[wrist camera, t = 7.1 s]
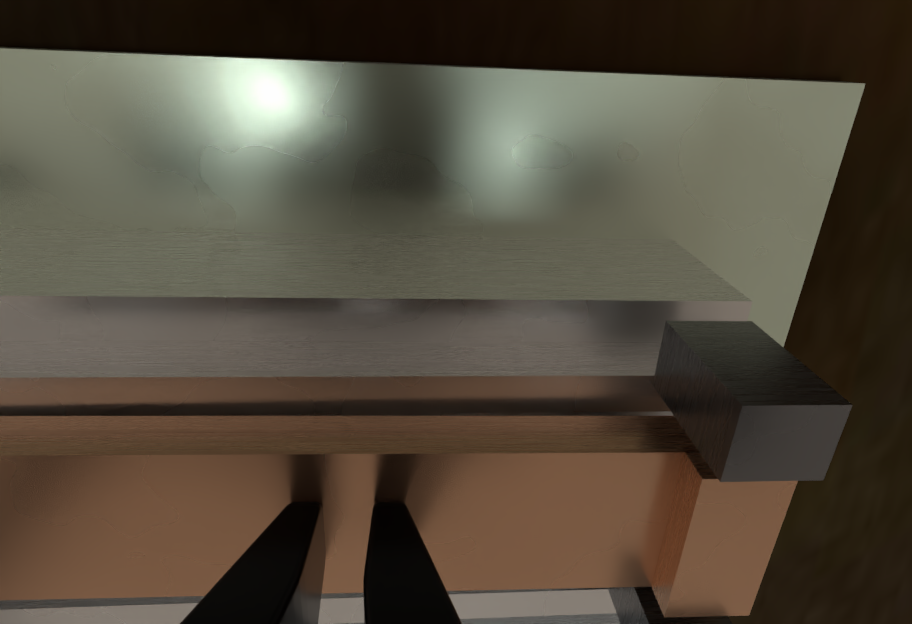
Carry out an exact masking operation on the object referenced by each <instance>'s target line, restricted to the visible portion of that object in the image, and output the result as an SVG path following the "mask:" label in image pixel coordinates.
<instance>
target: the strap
mask: <svg viewBox="0 0 912 624" xmlns="http://www.w3.org/2000/svg"><path fill="white" fill-rule="evenodd" d="M796 484H797V481H753V482H720V481H719V480H718V478H717V477H716V475H715V474H714V472H713V471H712V470H711V468H710V467H709V465H708V464H707V462H706V461H705V459H704V458H703V457H702V455H701V454H700V452H699V451H698V449H697V448H696V447H695V445H694V444H693V442H692V441H691V439H690V438H689V437H688V435H687V434H686V432H685V431H684V429H683V428H682V427H681V425H680V424H679V422H678V421H677V419H676V418H675V416H0V600H42V599H89V598H136V597H184V596H205V595H206V594H207V593H208V592H209V591H210V590H211V589H212V587H213V586H214V585H215V584H216V583H217V582H218V581H219V580H220V579H221V578H222V576H223V575H224V574H225V573H226V572H227V571H228V570H229V569H230V568H231V566H232V565H233V564H234V563H235V562H236V561H237V560H238V559H239V558H240V557H241V555H242V554H243V553H244V552H245V551H246V550H247V549H248V548H249V547H250V545H251V544H252V543H253V542H254V541H255V540H256V539H257V538H258V537H259V536H260V534H261V533H262V532H263V531H264V530H265V529H266V528H267V527H268V526H269V524H270V523H271V522H272V521H273V520H274V519H275V518H276V517H277V516H278V515H279V513H280V512H281V511H282V510H283V509H284V508H285V507H286V506H287V505H288V504H290V503H292V502H319V503H320V504H321V505H322V507H323V517H324V532H325V547H326V560H325V570H324V578H323V586H322V594H326V593H363V579H364V568H365V561H366V553H367V546H368V539H369V532H370V525H371V517H372V510H373V506H374V504H375V503H377V502H403V503H405V504H406V506H407V507H408V509H409V512H410V514H411V516H412V518H413V520H414V522H415V524H416V526H417V529H418V531H419V533H420V535H421V537H422V539H423V541H424V544H425V546H426V548H427V550H428V552H429V554H430V556H431V558H432V561H433V563H434V565H435V567H436V569H437V571H438V573H439V575H440V578H441V580H442V582H443V584H444V586H445V588H446V590H447V591H468V590H515V589H562V588H610V587H652V589H653V592H654V594H655V597H656V599H657V601H658V604H659V606H660V608H661V611H662V613H663V615H664V618H665V617H705V616H745V615H749V614H750V611H751V608H752V606H753V603H754V600H755V597H756V595H757V592H758V589H759V586H760V584H761V581H762V578H763V575H764V573H765V570H766V567H767V564H768V561H769V559H770V556H771V553H772V550H773V548H774V545H775V542H776V539H777V537H778V534H779V531H780V528H781V526H782V523H783V520H784V517H785V515H786V512H787V509H788V506H789V503H790V501H791V498H792V495H793V492H794V490H795V487H796Z"/></svg>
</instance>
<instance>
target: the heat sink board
mask: <svg viewBox="0 0 912 624" xmlns="http://www.w3.org/2000/svg"><path fill="white" fill-rule="evenodd" d="M864 87H865V84H864V83H855V82H845V81H824V80H800V79H776V78H751V77H727V76H703V75H678V74H654V73H630V72H605V71H581V70H556V69H532V68H508V67H483V66H459V65H435V64H410V63H386V62H362V61H337V60H313V59H289V58H264V57H240V56H216V55H191V54H167V53H143V52H118V51H94V50H70V49H45V48H21V47H0V416H675V418H676V419H677V421H678V422H679V424H680V425H681V427H682V428H683V429H684V431H685V432H686V434H687V435H688V437H689V438H690V439H691V441H692V442H693V444H694V445H695V447H696V448H697V449H698V451H699V452H700V454H701V455H702V457H703V458H704V459H705V461H706V462H707V464H708V465H709V467H710V468H711V470H712V471H713V472H714V474H715V475H716V477H717V478H718V480H719V481H720V482H753V481H806V480H824V477H825V475H826V472H827V470H828V467H829V464H830V462H831V459H832V457H833V454H834V451H835V449H836V446H837V444H838V441H839V438H840V436H841V433H842V431H843V428H844V425H845V423H846V420H847V418H848V415H849V412H850V410H851V407H852V404H851V403H849V402H848V401H847V400H846V399H845V398H843V397H842V396H841V395H840V394H839V393H837V392H836V391H835V390H834V389H833V388H831V387H830V386H829V385H828V384H827V383H825V382H824V381H823V380H822V379H821V378H819V377H818V376H817V375H816V374H815V373H813V372H812V371H811V370H810V369H809V368H807V367H806V366H805V365H804V364H803V363H801V362H800V361H799V360H798V359H797V358H795V357H794V356H793V355H792V354H791V353H789V352H788V351H787V350H786V349H785V348H783V347H784V344H785V341H786V337H787V334H788V331H789V328H790V324H791V321H792V318H793V315H794V312H795V308H796V305H797V302H798V299H799V296H800V292H801V289H802V286H803V283H804V280H805V276H806V273H807V270H808V267H809V263H810V260H811V257H812V254H813V251H814V247H815V244H816V241H817V238H818V235H819V231H820V228H821V225H822V222H823V218H824V215H825V212H826V209H827V206H828V202H829V199H830V196H831V193H832V190H833V186H834V183H835V180H836V177H837V174H838V170H839V167H840V164H841V161H842V157H843V154H844V151H845V148H846V145H847V141H848V138H849V135H850V132H851V129H852V125H853V122H854V119H855V116H856V113H857V109H858V106H859V103H860V100H861V96H862V93H863V90H864ZM447 592H448V595H449V597H450V599H451V601H452V603H453V605H454V607H455V609H456V612H457V614H458V616H459V618H460V620H461V622H462V624H732V623H731V621H730V619H729V617H728V616H705V617H665V618H664V615H663V613H662V611H661V608H660V606H659V604H658V601H657V599H656V597H655V594H654V592H653V589H652V587H610V588H562V589H515V590H468V591H447ZM203 597H204V596H184V597H136V598H89V599H42V600H0V624H180V623H181V622H182V621H183V620H184V618H185V617H186V616H187V615H188V614H189V613H190V612H191V611H192V610H193V608H194V607H195V606H196V605H197V604H198V603H199V602H200V601H201V600H202V599H203ZM318 624H364V597H363V593H326V594H322V595H321V603H320V611H319V619H318Z"/></svg>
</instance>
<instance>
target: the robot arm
mask: <svg viewBox="0 0 912 624" xmlns="http://www.w3.org/2000/svg"><path fill="white" fill-rule="evenodd" d="M325 560H326V547H325V532H324V517H323V507H322V505H321V504H320V503H319V502H292V503H290V504H288V505H287V506H286V507H285V508H284V509H283V510H282V511H281V512H280V513H279V515H278V516H277V517H276V518H275V519H274V520H273V521H272V522H271V523H270V524H269V526H268V527H267V528H266V529H265V530H264V531H263V532H262V533H261V534H260V536H259V537H258V538H257V539H256V540H255V541H254V542H253V543H252V544H251V545H250V547H249V548H248V549H247V550H246V551H245V552H244V553H243V554H242V555H241V557H240V558H239V559H238V560H237V561H236V562H235V563H234V564H233V565H232V566H231V568H230V569H229V570H228V571H227V572H226V573H225V574H224V575H223V576H222V578H221V579H220V580H219V581H218V582H217V583H216V584H215V585H214V586H213V587H212V589H211V590H210V591H209V592H208V593H207V594H206V595H205V596H204V597H203V599H202V600H201V601H200V602H199V603H198V604H197V605H196V606H195V607H194V608H193V610H192V611H191V612H190V613H189V614H188V615H187V616H186V617H185V618H184V620H183V621H182V622H181V623H180V624H318V619H319V611H320V603H321V595H322V586H323V578H324V570H325ZM363 597H364V624H462V622H461V620H460V618H459V616H458V614H457V612H456V609H455V607H454V605H453V603H452V601H451V599H450V597H449V595H448V592H447V590H446V588H445V586H444V584H443V582H442V580H441V578H440V575H439V573H438V571H437V569H436V567H435V565H434V563H433V561H432V558H431V556H430V554H429V552H428V550H427V548H426V546H425V544H424V541H423V539H422V537H421V535H420V533H419V531H418V529H417V526H416V524H415V522H414V520H413V518H412V516H411V514H410V512H409V509H408V507H407V506H406V504H405V503H403V502H377V503H375V504H374V506H373V510H372V517H371V525H370V532H369V539H368V546H367V553H366V561H365V568H364V579H363Z"/></svg>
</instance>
